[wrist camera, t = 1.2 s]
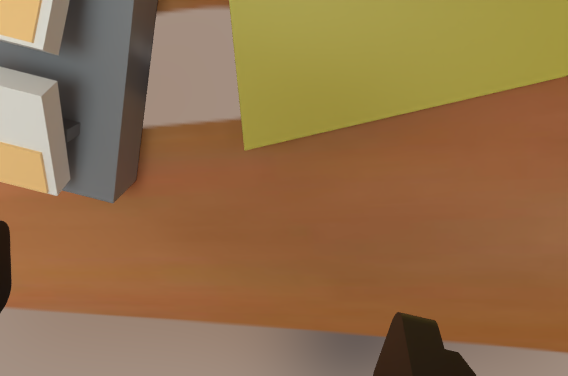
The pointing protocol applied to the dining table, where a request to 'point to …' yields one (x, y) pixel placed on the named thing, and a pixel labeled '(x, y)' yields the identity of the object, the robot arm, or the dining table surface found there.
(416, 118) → the dining table surface
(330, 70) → the flat olive board
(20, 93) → the block
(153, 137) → the dining table surface
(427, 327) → the robot arm
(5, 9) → the block
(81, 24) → the power strip
